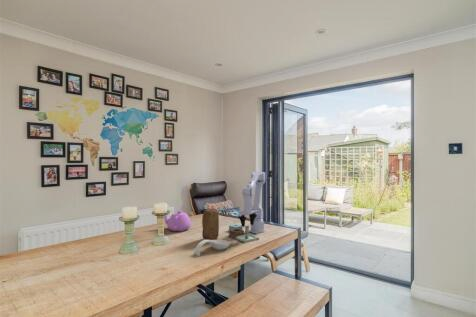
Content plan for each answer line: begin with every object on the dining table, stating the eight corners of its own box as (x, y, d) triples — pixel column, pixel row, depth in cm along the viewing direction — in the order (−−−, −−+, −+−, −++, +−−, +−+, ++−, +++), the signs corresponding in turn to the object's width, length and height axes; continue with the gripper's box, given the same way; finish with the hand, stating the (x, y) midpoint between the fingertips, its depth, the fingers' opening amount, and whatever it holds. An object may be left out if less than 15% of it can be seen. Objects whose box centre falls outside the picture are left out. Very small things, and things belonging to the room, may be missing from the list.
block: (219, 241, 173) (220, 210, 172) (210, 243, 167) (211, 211, 167) (209, 237, 180) (209, 207, 180) (200, 239, 175) (200, 209, 175)
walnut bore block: (237, 233, 189) (237, 228, 189) (243, 236, 183) (244, 230, 183) (229, 235, 185) (229, 229, 185) (235, 238, 179) (235, 232, 179)
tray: (250, 235, 185) (250, 233, 185) (258, 239, 178) (258, 237, 178) (235, 238, 178) (235, 236, 178) (244, 242, 170) (244, 240, 170)
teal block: (235, 229, 201) (235, 223, 201) (242, 231, 196) (242, 225, 196) (228, 230, 196) (229, 225, 196) (235, 233, 191) (235, 227, 191)
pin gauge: (246, 237, 180) (246, 225, 180) (249, 238, 178) (249, 226, 178) (244, 238, 178) (244, 226, 178) (247, 239, 176) (247, 227, 176)
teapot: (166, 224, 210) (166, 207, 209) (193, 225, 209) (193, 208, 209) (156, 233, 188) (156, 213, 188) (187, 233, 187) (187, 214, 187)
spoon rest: (220, 243, 168) (221, 232, 168) (234, 248, 160) (234, 236, 160) (190, 253, 151) (190, 240, 151) (203, 259, 143) (203, 245, 143)
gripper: (251, 203, 185) (251, 222, 185) (235, 205, 176) (235, 225, 176) (258, 204, 180) (258, 224, 180) (242, 207, 170) (242, 228, 171)
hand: (247, 225), depth 178 cm, fingers open, 7 cm apart
